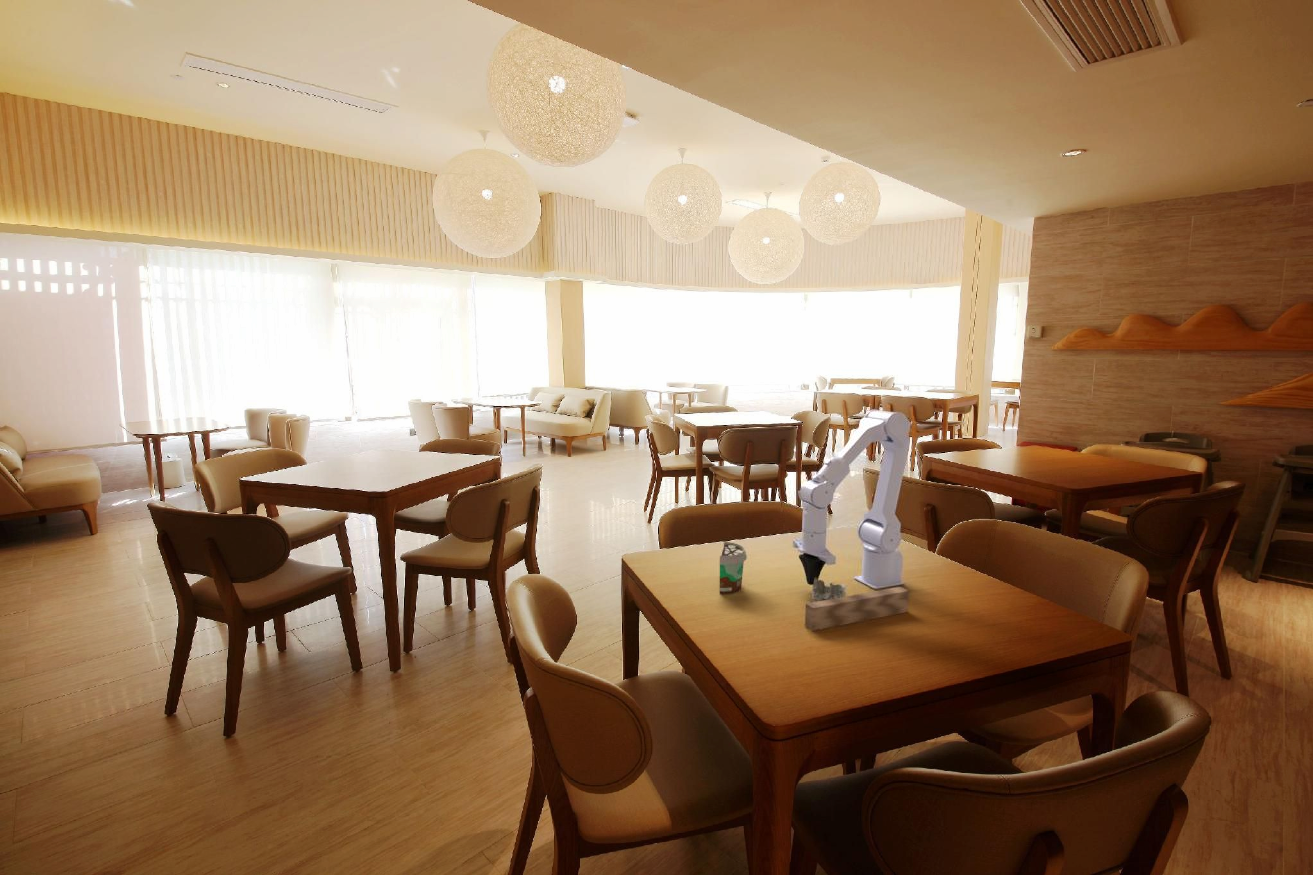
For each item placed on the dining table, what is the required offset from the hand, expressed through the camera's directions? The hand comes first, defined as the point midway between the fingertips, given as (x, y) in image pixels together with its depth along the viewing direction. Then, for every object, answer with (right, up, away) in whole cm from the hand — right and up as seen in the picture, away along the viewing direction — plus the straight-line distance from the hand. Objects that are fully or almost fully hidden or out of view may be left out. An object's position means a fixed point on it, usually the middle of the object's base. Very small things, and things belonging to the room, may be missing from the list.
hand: (812, 583), depth 145 cm
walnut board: (+6, -4, -15) cm, 17 cm away
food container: (-19, -2, +2) cm, 19 cm away
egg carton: (+2, -3, -6) cm, 7 cm away
